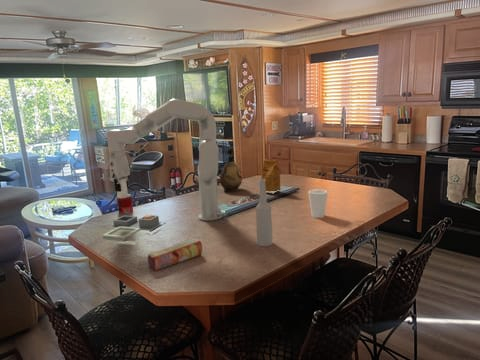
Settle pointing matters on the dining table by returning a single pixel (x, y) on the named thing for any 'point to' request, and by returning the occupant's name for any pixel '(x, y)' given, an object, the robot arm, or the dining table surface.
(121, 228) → the tray
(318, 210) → the foam cup
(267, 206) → the bottle
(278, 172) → the coffee package
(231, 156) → the ceramic jug
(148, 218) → the tan rounded piece
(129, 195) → the canned food
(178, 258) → the snack package
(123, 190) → the cylinder
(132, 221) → the housing
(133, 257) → the dining table surface
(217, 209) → the robot arm
